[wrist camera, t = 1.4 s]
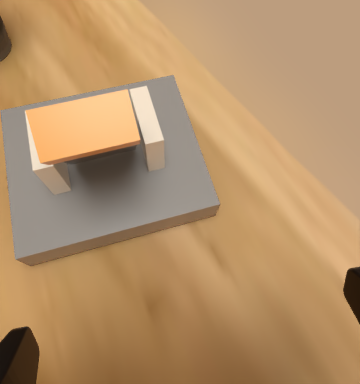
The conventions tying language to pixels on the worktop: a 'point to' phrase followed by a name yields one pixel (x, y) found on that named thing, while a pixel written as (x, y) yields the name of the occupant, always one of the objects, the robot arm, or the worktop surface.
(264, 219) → the worktop surface
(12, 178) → the breaker base
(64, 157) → the lever
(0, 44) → the beverage cup
